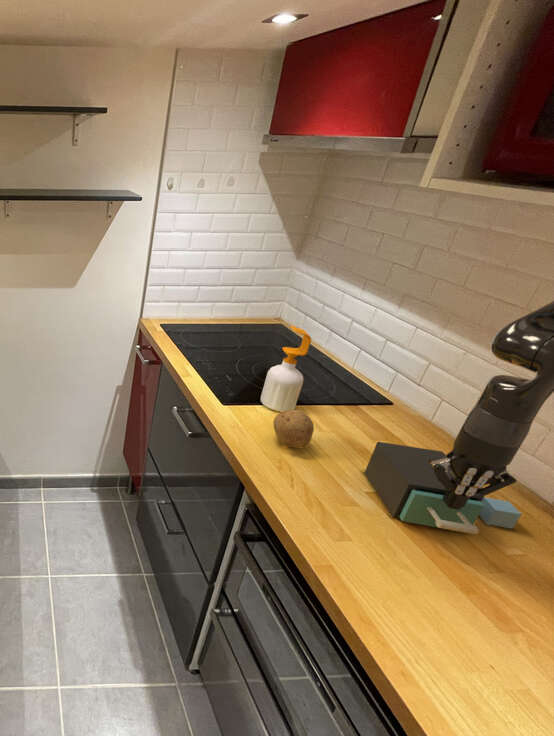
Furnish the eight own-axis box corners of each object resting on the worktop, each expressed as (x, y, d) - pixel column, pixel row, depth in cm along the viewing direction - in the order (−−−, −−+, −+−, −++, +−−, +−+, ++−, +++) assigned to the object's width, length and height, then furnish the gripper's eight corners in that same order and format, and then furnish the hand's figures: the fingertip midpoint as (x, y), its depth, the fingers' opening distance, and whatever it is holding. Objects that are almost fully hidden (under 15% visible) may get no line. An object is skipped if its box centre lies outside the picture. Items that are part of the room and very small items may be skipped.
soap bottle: (256, 394, 137) (276, 320, 127) (288, 398, 135) (311, 323, 125) (264, 410, 129) (287, 333, 119) (298, 414, 127) (324, 336, 117)
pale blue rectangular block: (500, 515, 94) (509, 501, 92) (512, 528, 91) (521, 514, 89) (475, 511, 95) (483, 497, 93) (486, 524, 92) (495, 509, 90)
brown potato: (274, 429, 121) (284, 397, 117) (311, 443, 115) (323, 411, 111) (263, 444, 115) (273, 411, 111) (302, 460, 109) (314, 426, 105)
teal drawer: (484, 553, 84) (502, 525, 81) (414, 540, 87) (429, 512, 84) (431, 487, 100) (445, 462, 97) (373, 478, 102) (384, 452, 99)
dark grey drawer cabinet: (464, 530, 90) (484, 496, 86) (392, 517, 93) (409, 483, 89) (426, 483, 103) (442, 451, 99) (364, 472, 105) (377, 441, 102)
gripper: (522, 427, 81) (479, 499, 88) (436, 414, 84) (401, 485, 91) (555, 452, 74) (506, 528, 81) (460, 438, 77) (421, 513, 84)
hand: (450, 506), depth 86 cm, fingers closed
